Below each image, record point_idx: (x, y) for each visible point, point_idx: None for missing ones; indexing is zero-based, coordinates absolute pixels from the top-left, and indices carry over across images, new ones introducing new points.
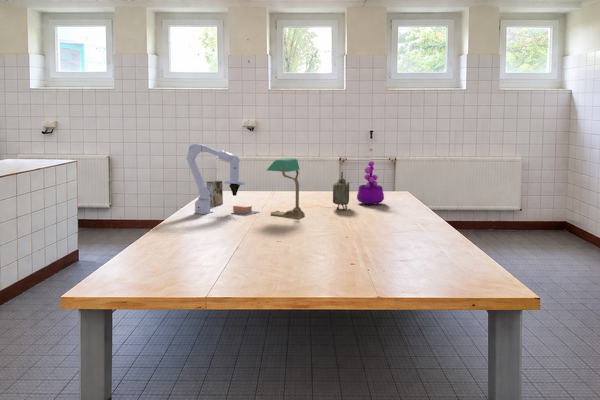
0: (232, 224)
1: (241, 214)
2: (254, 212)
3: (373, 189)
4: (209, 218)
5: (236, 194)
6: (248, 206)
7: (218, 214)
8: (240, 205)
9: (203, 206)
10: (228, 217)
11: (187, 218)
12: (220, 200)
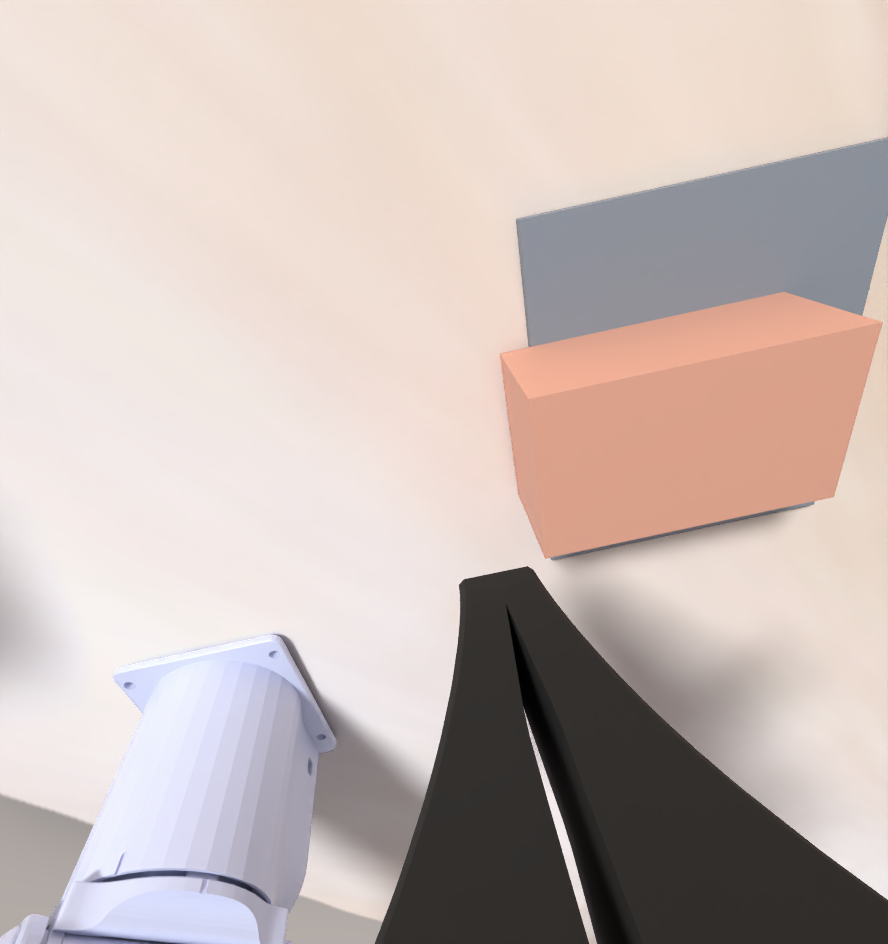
0: (858, 760)
1: (731, 521)
2: (845, 278)
3: None
4: (544, 772)
5: (541, 585)
6: (841, 413)
7: (453, 654)
8: (632, 446)
9: (303, 828)
10: (666, 666)
11: (401, 853)
12: None
